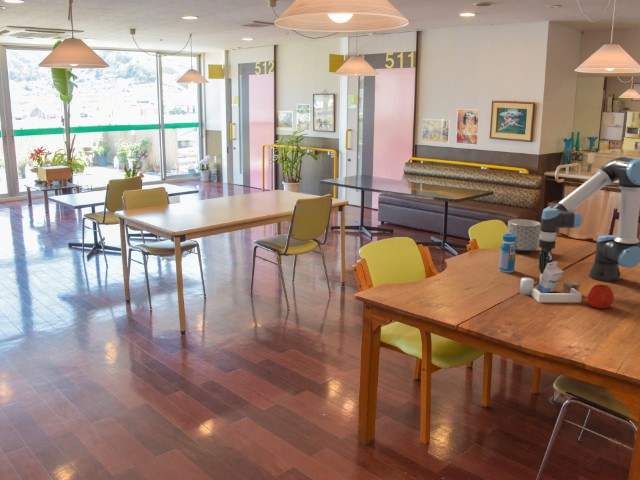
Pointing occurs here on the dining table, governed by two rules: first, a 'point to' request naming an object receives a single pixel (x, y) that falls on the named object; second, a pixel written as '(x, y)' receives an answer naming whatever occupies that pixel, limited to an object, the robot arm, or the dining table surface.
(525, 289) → the glossy white capsule
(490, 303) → the dining table surface
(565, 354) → the dining table surface
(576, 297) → the display bracket
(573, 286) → the grey-brown cube
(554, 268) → the ink box
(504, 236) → the beverage bottle
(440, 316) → the dining table surface
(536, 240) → the planter
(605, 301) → the apple
